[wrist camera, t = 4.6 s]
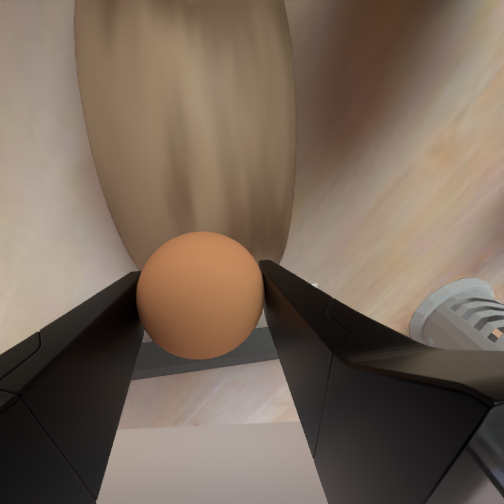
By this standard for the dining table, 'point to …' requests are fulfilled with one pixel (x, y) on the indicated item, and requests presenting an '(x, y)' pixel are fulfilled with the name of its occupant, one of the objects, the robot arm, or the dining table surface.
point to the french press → (460, 317)
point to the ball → (200, 295)
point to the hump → (190, 118)
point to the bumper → (164, 363)
